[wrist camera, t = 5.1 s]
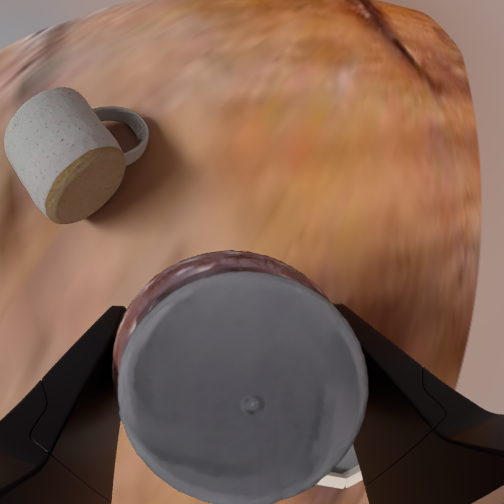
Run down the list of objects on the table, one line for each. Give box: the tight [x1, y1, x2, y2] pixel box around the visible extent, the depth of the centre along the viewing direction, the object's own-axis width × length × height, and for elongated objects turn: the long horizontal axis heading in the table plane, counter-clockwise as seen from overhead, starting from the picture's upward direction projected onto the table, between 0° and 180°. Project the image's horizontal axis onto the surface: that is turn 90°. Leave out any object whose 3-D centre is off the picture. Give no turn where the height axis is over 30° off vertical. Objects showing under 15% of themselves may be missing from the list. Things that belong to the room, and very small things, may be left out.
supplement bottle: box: [112, 250, 369, 504], centre depth 10 cm, size 6×6×11 cm
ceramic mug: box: [4, 87, 149, 224], centre depth 19 cm, size 11×8×8 cm
